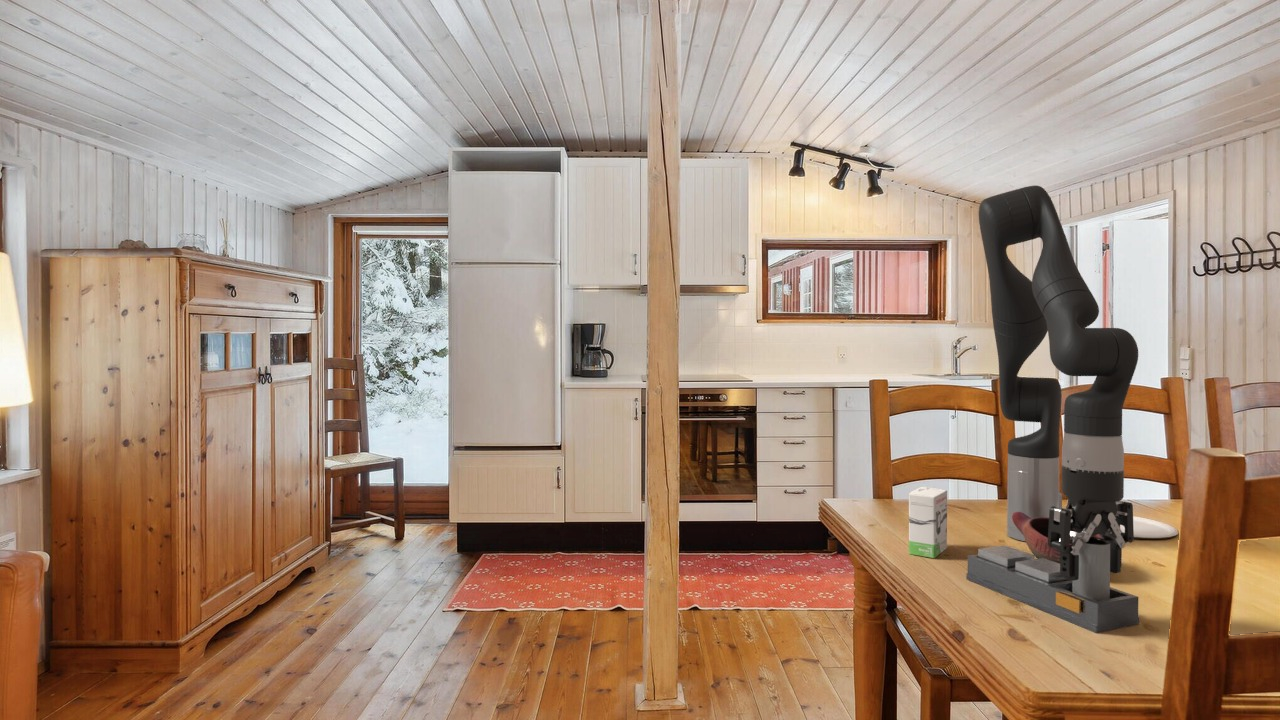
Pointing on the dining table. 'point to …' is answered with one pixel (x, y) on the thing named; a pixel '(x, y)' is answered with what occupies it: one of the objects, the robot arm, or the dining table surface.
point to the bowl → (1038, 535)
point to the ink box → (927, 521)
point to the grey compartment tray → (1049, 589)
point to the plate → (1151, 529)
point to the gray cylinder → (1093, 570)
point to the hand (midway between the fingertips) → (1090, 575)
